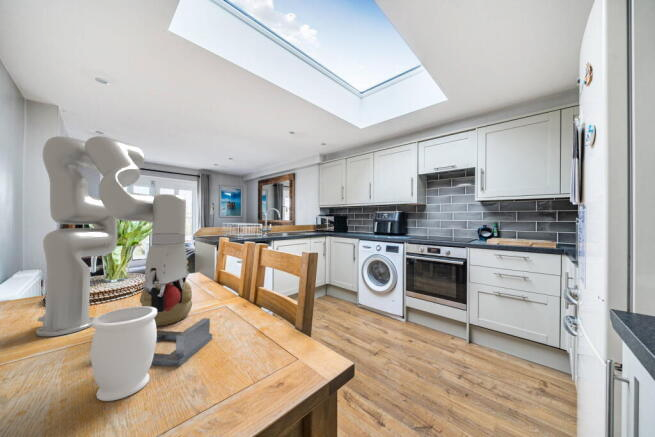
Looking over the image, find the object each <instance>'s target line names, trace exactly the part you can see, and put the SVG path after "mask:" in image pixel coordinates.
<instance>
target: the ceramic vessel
mask: <svg viewBox="0 0 655 437" xmlns="http://www.w3.org/2000/svg"><path fill="white" fill-rule="evenodd" d="M147 255H148V252H147ZM188 264H189V260H188V259H187V271H188V272H189V267H190V266H188ZM176 282H177V281H176ZM158 283H159V282H158ZM159 287H160V286H157V289H158V290H159ZM182 289H183V290H182V303H178V304H177V305H176V306H174V307H173V308H172V309H171V310H170V311H167V312H166V311H163V312H157V315H156V316H155V317H154V320H155V323H156V327H160V326H168V325H172V324H175V323H178V322H179V321H182V320H183V319H185V318H186V317H187V316H188V314H189V313H190V312H191V309H192V307H193V306H192V305H193V301H192V298H193V293H192V292H193V291H192V286H191V285H190V283H189V282H187V281H185V283H184V288H182ZM139 303H141V306H149V307H151V296H149V293H148V292H147V291H146V290H145V289H144V288H143V290H142V291H141V294H140V297H139Z"/></svg>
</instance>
